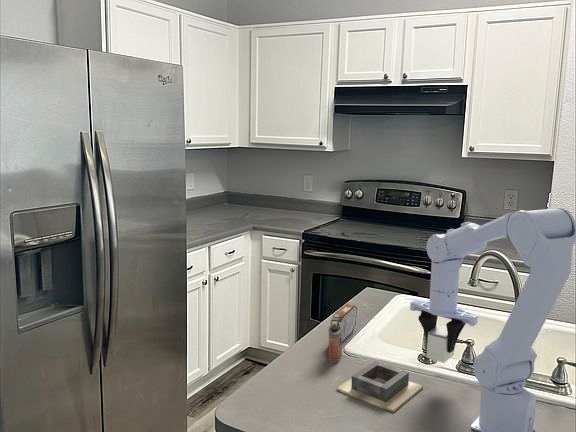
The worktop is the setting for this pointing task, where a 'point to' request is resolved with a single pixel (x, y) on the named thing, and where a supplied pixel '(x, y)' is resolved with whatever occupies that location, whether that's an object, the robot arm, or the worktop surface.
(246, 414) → the worktop surface
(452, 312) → the robot arm
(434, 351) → the plug
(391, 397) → the socket
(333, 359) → the lighter
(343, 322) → the tin
